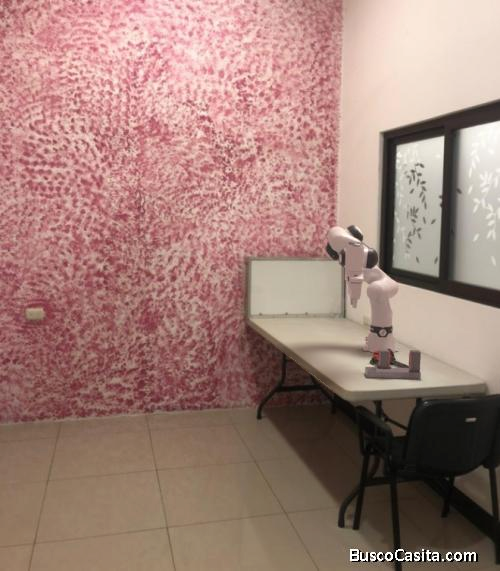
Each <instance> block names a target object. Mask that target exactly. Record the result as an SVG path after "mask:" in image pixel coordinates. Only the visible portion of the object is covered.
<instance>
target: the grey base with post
mask: <svg viewBox="0 0 500 571" xmlns="http://www.w3.org/2000/svg"><path fill="white" fill-rule="evenodd" d="M421 355H422V352H421V351H420V350H416V349H410V350H409V354H408V366H409V368H402V367H393V365H392V364H390V365H389V369H379V368H378V366H379V365H374V364H373V366H365V367H364V374H365V376H366V378H367V379H368V378H370V379H398V380H401V379H402V380H421V377H422V374H421V357H422V356H421Z"/></svg>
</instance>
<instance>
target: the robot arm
mask: <svg viewBox="0 0 500 571" xmlns="http://www.w3.org/2000/svg"><path fill="white" fill-rule="evenodd" d="M363 240H364V235H363V231H362V230H361V229H360V227H358V226H356V225H355V224H351V225H349V226H347V227H346V228H345V229H344V228H343V227H341V226H333V227H331V228H330V229H329V231H328V232H327V241H328V242H327V243H326V246H325V248H324V249H325V253H326V255H327V256H328V258H330V259H332V260H333V261H338V264H339V265H340V266H341V267H342V268H345V269H344V281H346V282H347V286H348V287H347V293H348V295H349V299H350V302H349V304H350V305H351V306H352V308H353V309H357V305H358V300H360V298H361V295H362V294H361V293H362V288H363V287H362V286H363V283H364V282H365V283H366V284H368V285H367V288H366V296H367V297H368V299H369V304H370V308H371V309H370V310H371V311H370V312H371V321H370V322H371V323H370V326H369V333H368V335H367V336H365V337H364V338H365V340H364V341H365V343H364V345H363V348H362V350H363V351H366V352H370V353H374V352H375V351H379V349H391V350H392V351H393V352H394V353H396V352H399V349H398V348H397V347H396V336H395V335H394V334H393V331H394V326H393V310H392V308H391V304H390V302H391V301H390V299H392V298H393V297H395V296H396V295H397V294H398V292H399V284H398V282H397V281H396V280H394V279H392V278H391V277H390V276H389V275H387V273H385V272H384V271H383V270H381V268H380V267H379V266H378V263H379V254H378V252H377V250H376V249H375V248H374V247H370V246H369V245H367V244H366V243H365V242H363Z"/></svg>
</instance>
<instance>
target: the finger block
mask: <svg viewBox="0 0 500 571" xmlns="http://www.w3.org/2000/svg"><path fill="white" fill-rule="evenodd" d="M378 363H379V366H378V368H379V369H389V365H391V364H390V353H389V350H388V349H379V362H378Z"/></svg>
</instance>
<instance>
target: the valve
mask: <svg viewBox="0 0 500 571" xmlns="http://www.w3.org/2000/svg"><path fill="white" fill-rule="evenodd" d="M388 350H389V353H390V365H396V366H398V367H399V368H409V364H408V365H407V364H405V363H403V362H400V361H398V360H397V359H396V356H395V352H393V351H392V350H391V349H388ZM369 363H370V364H371V365H373V366H374V365H379V351H375V352H372V356H371V358H370V360H369Z"/></svg>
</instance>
